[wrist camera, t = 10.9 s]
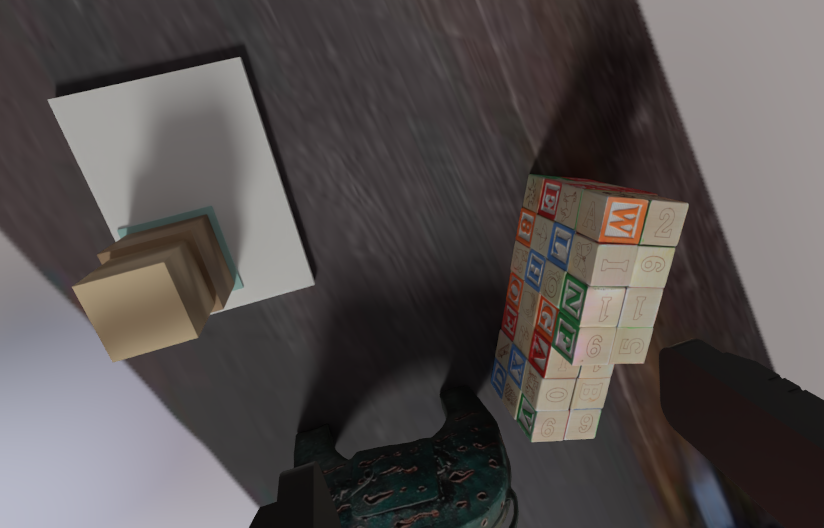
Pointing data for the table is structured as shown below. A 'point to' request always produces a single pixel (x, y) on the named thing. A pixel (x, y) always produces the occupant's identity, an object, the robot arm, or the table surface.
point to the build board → (191, 169)
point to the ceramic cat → (421, 473)
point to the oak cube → (146, 300)
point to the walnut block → (201, 246)
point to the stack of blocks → (580, 299)
